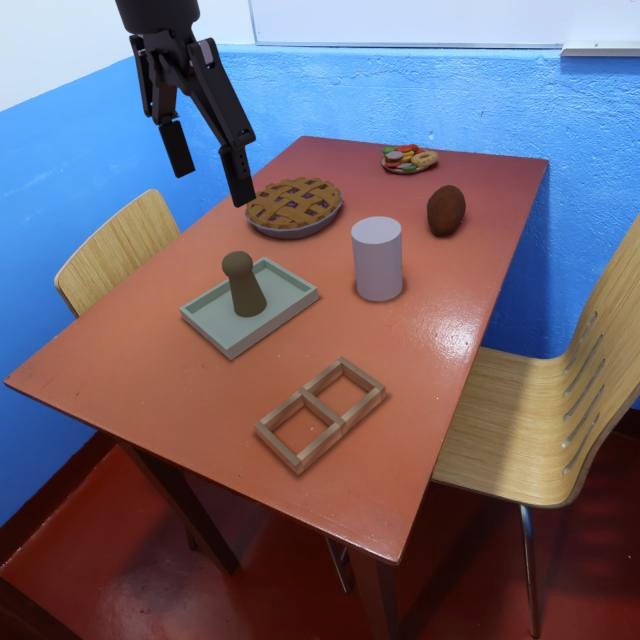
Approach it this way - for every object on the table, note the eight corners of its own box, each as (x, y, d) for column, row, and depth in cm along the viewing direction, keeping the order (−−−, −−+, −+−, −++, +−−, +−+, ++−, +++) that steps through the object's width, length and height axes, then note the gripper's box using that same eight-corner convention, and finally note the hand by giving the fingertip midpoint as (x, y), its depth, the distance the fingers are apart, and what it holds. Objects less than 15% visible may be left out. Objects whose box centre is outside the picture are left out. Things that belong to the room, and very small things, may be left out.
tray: (230, 360, 76) (226, 349, 74) (183, 318, 86) (178, 308, 84) (319, 298, 85) (317, 287, 83) (267, 266, 94) (264, 256, 92)
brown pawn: (273, 300, 85) (260, 250, 77) (252, 321, 82) (236, 271, 74) (248, 291, 88) (233, 242, 80) (227, 311, 84) (209, 261, 77)
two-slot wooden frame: (298, 476, 60) (295, 466, 58) (257, 435, 65) (253, 425, 63) (386, 397, 67) (385, 386, 65) (343, 366, 72) (341, 355, 70)
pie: (302, 253, 96) (298, 232, 92) (229, 228, 107) (223, 209, 103) (362, 203, 107) (360, 183, 104) (290, 185, 118) (286, 166, 115)
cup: (411, 288, 83) (411, 230, 75) (373, 307, 81) (369, 250, 73) (384, 267, 89) (381, 211, 81) (348, 284, 86) (341, 228, 78)
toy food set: (443, 169, 114) (444, 156, 111) (391, 181, 113) (390, 169, 110) (422, 148, 123) (422, 136, 121) (374, 159, 122) (373, 147, 120)
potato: (420, 238, 94) (420, 203, 88) (431, 208, 101) (432, 174, 96) (459, 242, 91) (462, 205, 86) (467, 211, 99) (470, 175, 93)
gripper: (261, -34, 38) (301, 202, 52) (128, -28, 53) (188, 154, 67) (182, -14, 35) (248, 232, 49) (64, -14, 50) (141, 174, 64)
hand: (213, 187), depth 58 cm, fingers open, 13 cm apart
